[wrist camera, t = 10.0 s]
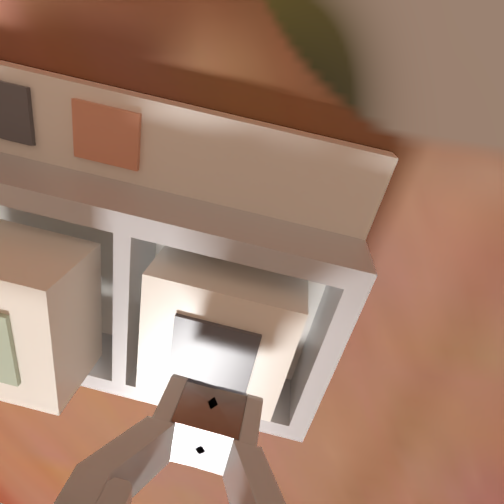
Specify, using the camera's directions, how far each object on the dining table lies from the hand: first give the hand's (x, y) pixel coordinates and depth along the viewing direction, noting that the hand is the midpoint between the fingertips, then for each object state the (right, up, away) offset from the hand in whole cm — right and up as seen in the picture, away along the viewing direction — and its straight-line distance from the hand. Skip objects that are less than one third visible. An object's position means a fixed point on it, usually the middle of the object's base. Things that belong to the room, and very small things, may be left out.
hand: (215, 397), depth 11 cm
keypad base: (-7, +5, +5) cm, 10 cm away
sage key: (-7, +3, +2) cm, 8 cm away
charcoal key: (0, +2, +4) cm, 5 cm away
